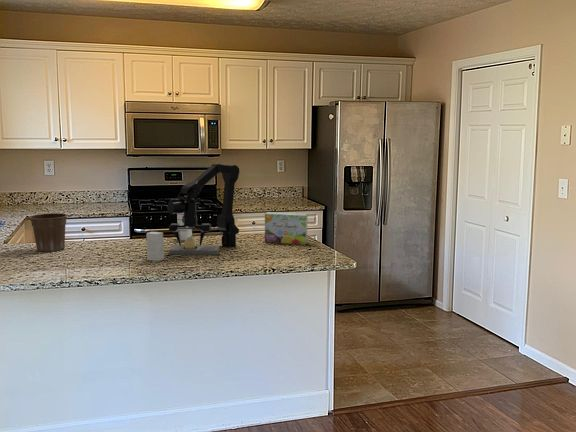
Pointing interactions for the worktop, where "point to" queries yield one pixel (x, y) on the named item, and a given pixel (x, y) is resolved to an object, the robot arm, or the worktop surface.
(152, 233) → the skincare box
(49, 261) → the worktop surface
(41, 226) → the plant pot
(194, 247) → the stepped wooden chunk
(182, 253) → the grey slotted board
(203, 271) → the worktop surface
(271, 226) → the snack box
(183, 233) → the syrup box
